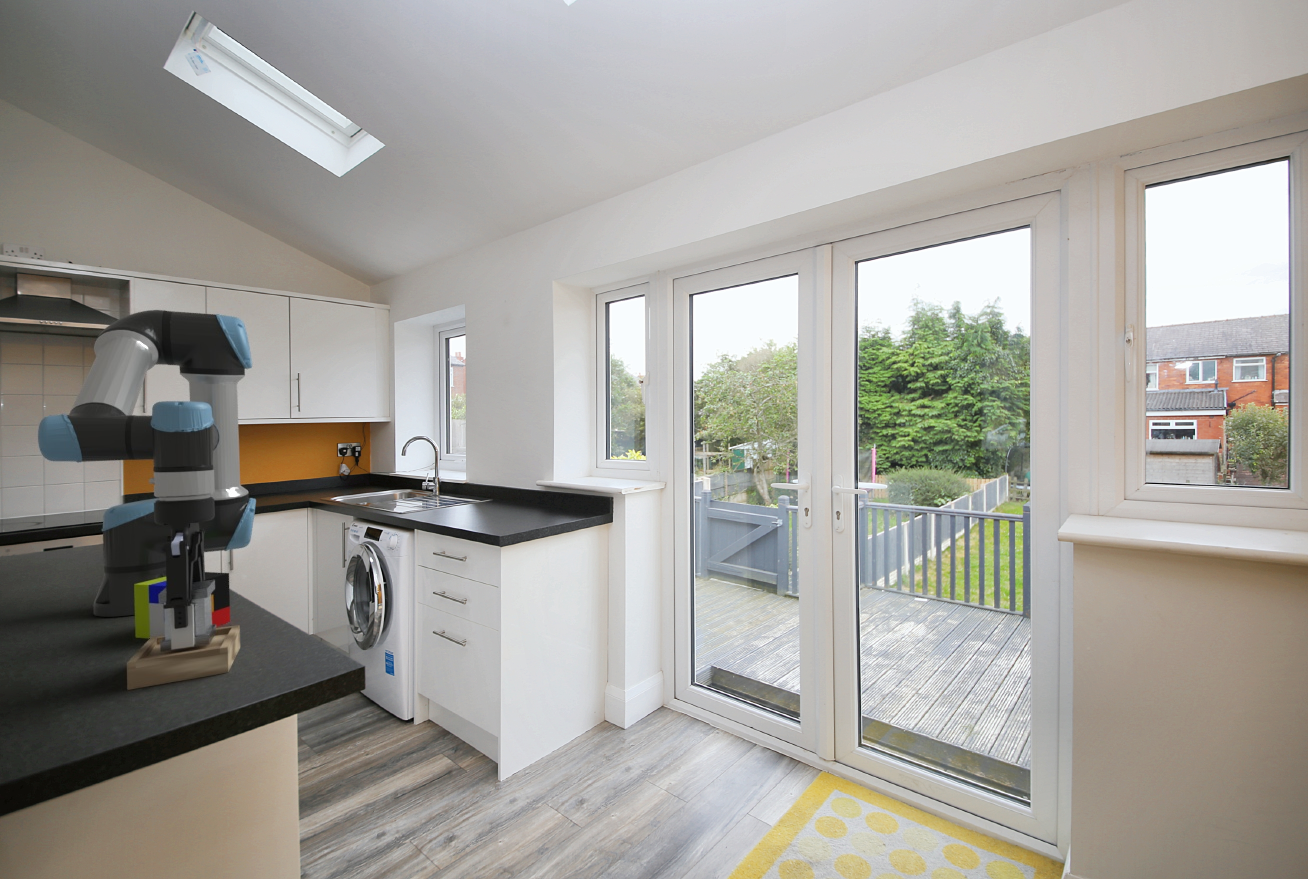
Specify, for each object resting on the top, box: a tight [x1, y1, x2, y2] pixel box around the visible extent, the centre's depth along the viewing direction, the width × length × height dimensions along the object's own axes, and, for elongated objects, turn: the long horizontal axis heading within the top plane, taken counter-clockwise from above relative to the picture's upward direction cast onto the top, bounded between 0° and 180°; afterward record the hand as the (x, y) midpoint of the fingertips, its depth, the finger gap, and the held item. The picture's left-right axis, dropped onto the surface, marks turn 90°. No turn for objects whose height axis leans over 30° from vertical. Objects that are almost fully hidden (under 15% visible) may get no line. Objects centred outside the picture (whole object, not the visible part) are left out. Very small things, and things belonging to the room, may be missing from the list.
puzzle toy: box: [134, 571, 231, 639], centre depth 110 cm, size 10×10×10 cm
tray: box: [126, 624, 241, 691], centre depth 92 cm, size 12×12×4 cm
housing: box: [158, 580, 217, 652], centre depth 92 cm, size 6×6×10 cm
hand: (188, 639), depth 92 cm, fingers closed on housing, 6 cm apart
